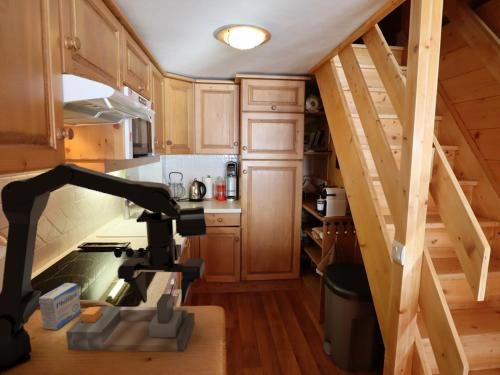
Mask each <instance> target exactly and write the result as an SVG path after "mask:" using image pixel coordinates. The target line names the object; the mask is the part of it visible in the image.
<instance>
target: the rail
mask: <svg viewBox="0 0 500 375" xmlns="http://www.w3.org/2000/svg"><path fill="white" fill-rule="evenodd" d="M92 307H101V314H102V316H101V317H100V319H99V320H98V321H97V322H96V323H83V320H82V316H81V317H80V318H79V319H78V320H77V321H76V322H74V323H73V324H72V326H71V327H69V329H67V330H66V331H65V334H66V335H65V336H66V341H67V350H68V351H119V352H120V351H121V352H124V351H125V352H126V351H128V352H129V351H130V352H131V351H132V352H177V353H178V352H179V353H180V352H185V350H186V347H187V345H188V342H189V339H190V338H191V334H192V332H193V329H194V326H195V324H196V322H195V321H196V320H195V312H189V309H188V307H173V311H182V324H181V326H180V329H179V331H178V333H177V335H176V337H150V333H149V324H150V323H151V321H152V319H153V318H154V316H155V315H156V313H157V306H155V307H151V306H150V307H148V306H146V307H145V306H140V307H138V306H132V307H131V306H129V307H128V306H100V305H99V306H94V305H93V306H92Z"/></svg>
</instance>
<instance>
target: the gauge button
mask: <svg viewBox="0 0 500 375" xmlns="http://www.w3.org/2000/svg"><path fill="white" fill-rule="evenodd" d="M101 307H102V306H99V307H91V306H89V307H88V308H87V309H85V311H84V312H82V313H81V317H82V320H83V323H96V322H97V321H98V320H99V319H100V317H101V316H102V314H101Z"/></svg>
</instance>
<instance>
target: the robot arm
mask: <svg viewBox="0 0 500 375" xmlns="http://www.w3.org/2000/svg"><path fill="white" fill-rule="evenodd" d="M66 185H70V186H75V187H79V188H82V189H87V190H90V191H94V192H98V193H103V194H106V195H110V196H114V197H118V198H121V199H125V200H127V201H130V202H132V203H133V204H134V205H135V206H138V207H140V208H142V209H143V211H142V212H141V214H140V215H138V217H137V219H136V220H135V222H137V223H146V224H145V225H146V236H147V242H146V243H147V246H146V247H145V253H148V254H147V255H148V256H147V257H148V263H147V262H146V261H145V259H144V258H143V257H129V258H127V259H126V260H124V262H123V263H122V264H120V265H119V266H118V268H117V278H118V279H119V280H123V282H124V283H127V284H128V285H129V286H130V287H131V288H132V290H134V292H135V293H136V294H137V296H138V297H139V299H140V300H141V301H142V303H143V304H147V303H148V302H147V301H148V292H147V282H146V273H181V277H182V279H181V281H180V290H181V291H180V292H181V297H180V298H181V303H182V305H184V304H185V302H186V300H187V297H188V293H189V289H190V286H191V284H193V283H195V282H196V280H197V281H198V280H200V279H201V278H202V275H203V274H204V271H205V270H206V268H205V266H206V265H205V261H204V259H203V258H199V257H197V258H196V257H195V258H194V257H193V258H191V257H189V258H187V259H186V260H185V262H184V263H178V260H179V258H181V257H182V244H177V242H176V239H175V237H174V223H173V222H174V221H175V234H178V236H180V237H181V238H182V239H183V238H194V237H206V236H207V221H206V219H205V207H204V206H203V205H202V206H196V207H187V208H186V207H184V208H183V207H182V208H181V206H180V204H179V203H178V202H177V201H176V200H175V198H173V195H172V190H171V188H170V187H169V186H168V185H167V184H165V183H162V182H154V181H141V180H131V179H127V178H123V177H121V176H116V175H113V174H109V173H104V172H102V171H98V170H95V169H91V168H88V167H87V168H86V167H83V166H79V165H78V164H75V163H72V162H66V163H60V164H58V165H56V166H55V167H53V168H51V169H49V170H46V171H45V172H42V173H40V174H38V175H35V176H33V177H27V178H24V179H18V180H13V181H10V182H8V183H7V184H5V185H4V186H2V189H1V191H0V202H1V211H2V213H3V215H4V216H5V217H4V218H6V221H7V223H8V228H7V237H6V247H5V255H4V256H5V257H4V265H3V275H2V284H1V290H0V374H3V373H5V372H6V371H9V370H11V369H14V368H15V367H18V366H20V365H22V364H25V363H26V362H28V361H29V362H30V360H32V357H31V354H30V353H31V352H32V344H31V338H30V334H29V331H28V330H26V329H25V328H24V326H25V324H27V323H28V322H29V319H30V318H31V317H32V315H33V314H34V313H35V312H36V311H37V310H38V309H39V308H40V303H39V298H40V297H41V295H42V290H41V289H40V290H38V289H37V290H34V288H33V286H32V283H31V282H32V276H33V274H32V273H33V267H34V260H35V259H34V256H35V248H36V240H37V234H38V224H39V220H40V219H41V216H42V215H43V214H44V212H45V209H46V207H47V205H48V202H49V200H50V196H51V193H53V192H55V191H58V190H59V189H61V188H63V187H65V186H66ZM176 261H177V263H176ZM2 372H3V373H2Z"/></svg>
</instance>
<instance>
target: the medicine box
mask: <svg viewBox="0 0 500 375" xmlns="http://www.w3.org/2000/svg"><path fill="white" fill-rule="evenodd" d="M39 304H40V306H39V308H40V316H41V324H42V329H46V330H54V331H58V330H61V328H63V327H64V326H65V325H66V324H68V323H69V322H70V321H72V320H73V319H74V318H76V317H77V316H78V315H80V314H82V308H81V301H80V291H79V284H77V283H73V282H72V283H71V282H64V283H62V284H60V285H59V286H58V287H55V288H54V289H51V290H50V291H49V292H47V293H45V294H43V295H40V297H39Z"/></svg>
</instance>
